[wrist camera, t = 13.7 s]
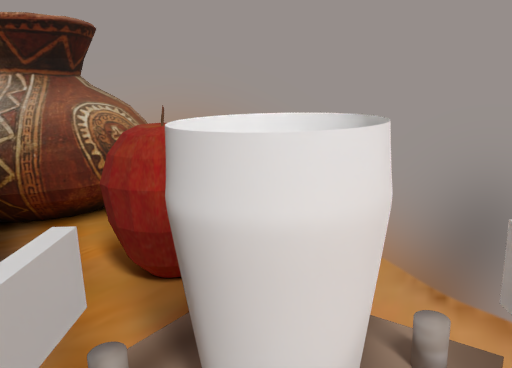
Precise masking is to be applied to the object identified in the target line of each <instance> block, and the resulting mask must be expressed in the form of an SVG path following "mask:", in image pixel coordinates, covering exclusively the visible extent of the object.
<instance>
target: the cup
mask: <svg viewBox="0 0 512 368" xmlns="http://www.w3.org/2000/svg"><path fill="white" fill-rule="evenodd" d="M390 129H391V126H390V119H388V118H385V117H381V116H374V115H363V114H346V113H262V114H238V115H221V116H209V117H199V118H190V119H184V120H177V121H172V122H169V123H166V124H165V146H166V189H165V200H166V207H167V213H168V218H169V222H170V227H171V232H172V236H173V241H174V245H175V250H176V254H177V259H178V263H179V268H180V272H181V277H182V281H183V286H184V290H185V295H186V299H187V304H188V308H189V313H190V317H191V321H192V326H193V330H194V335H195V339H196V344H197V348H198V353H199V357H200V362H201V366H202V368H360V363H361V358H362V353H363V348H364V343H365V338H366V333H367V328H368V322H369V317H370V312H371V307H372V302H373V297H374V292H375V287H376V282H377V277H378V272H379V267H380V262H381V257H382V251H383V246H384V241H385V236H386V230H387V225H388V220H389V215H390V210H391V203H392V174H391V133H390V132H391V130H390Z"/></svg>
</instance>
